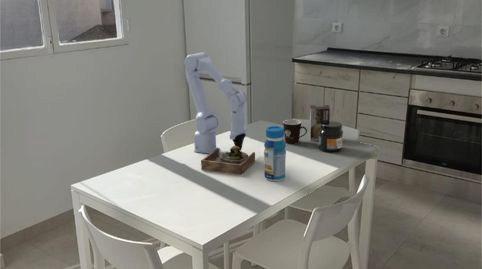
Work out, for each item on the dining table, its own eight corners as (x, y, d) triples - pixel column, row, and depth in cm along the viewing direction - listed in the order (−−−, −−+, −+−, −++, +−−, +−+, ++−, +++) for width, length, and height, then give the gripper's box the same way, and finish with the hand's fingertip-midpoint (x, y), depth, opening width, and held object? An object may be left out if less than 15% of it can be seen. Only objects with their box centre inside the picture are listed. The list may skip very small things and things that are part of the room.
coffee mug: (279, 141, 220) (279, 121, 217) (294, 138, 224) (295, 118, 221) (292, 148, 210) (292, 127, 207) (308, 145, 214) (308, 124, 211)
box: (201, 169, 188) (201, 160, 187) (217, 156, 202) (217, 148, 200) (241, 174, 181) (241, 165, 180) (255, 161, 195) (255, 152, 194)
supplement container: (344, 153, 203) (345, 127, 199) (320, 153, 203) (321, 127, 199) (339, 145, 213) (341, 120, 209) (317, 145, 213) (317, 120, 209)
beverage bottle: (284, 182, 174) (284, 132, 168) (262, 181, 175) (262, 131, 169) (286, 173, 182) (287, 125, 175) (265, 172, 183) (265, 124, 177)
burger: (216, 162, 195) (215, 145, 193) (229, 153, 205) (229, 137, 203) (241, 166, 190) (240, 149, 187) (253, 157, 200) (253, 141, 197)
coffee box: (328, 136, 225) (329, 104, 220) (329, 141, 219) (330, 108, 214) (309, 136, 226) (310, 104, 221) (309, 140, 220) (310, 108, 215)
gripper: (240, 125, 189) (241, 156, 193) (252, 116, 201) (252, 145, 206) (224, 124, 191) (225, 154, 195) (237, 115, 204) (238, 144, 208)
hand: (238, 150), depth 201 cm, fingers closed
